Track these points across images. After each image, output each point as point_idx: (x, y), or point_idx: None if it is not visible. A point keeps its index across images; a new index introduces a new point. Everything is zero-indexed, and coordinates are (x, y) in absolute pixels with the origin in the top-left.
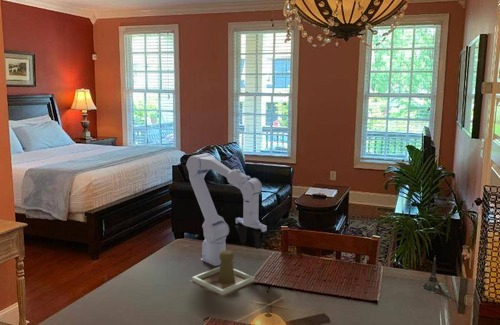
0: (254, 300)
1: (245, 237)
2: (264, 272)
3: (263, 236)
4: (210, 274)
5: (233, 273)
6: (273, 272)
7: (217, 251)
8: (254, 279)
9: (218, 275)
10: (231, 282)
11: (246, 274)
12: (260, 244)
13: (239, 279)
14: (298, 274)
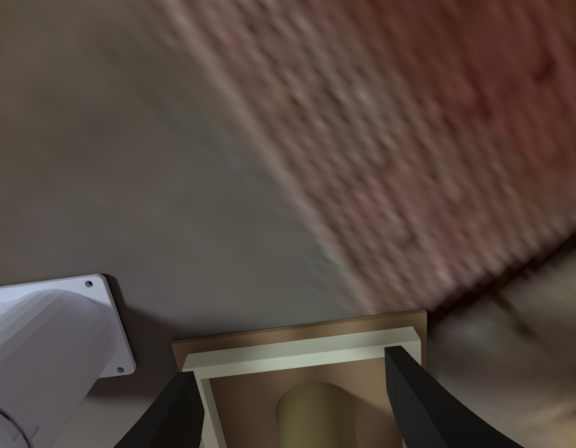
0: (534, 415)
1: (176, 418)
2: (357, 209)
3: (507, 443)
4: (223, 439)
5: (350, 431)
6: (393, 165)
7: (71, 414)
8: (415, 331)
9: (248, 414)
10: (354, 413)
11: (365, 352)
12: (419, 369)
13: (348, 369)
14: (534, 47)
